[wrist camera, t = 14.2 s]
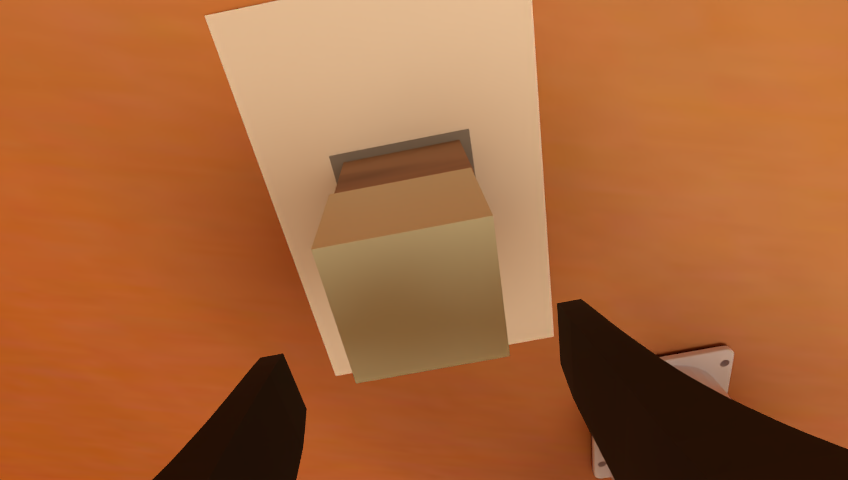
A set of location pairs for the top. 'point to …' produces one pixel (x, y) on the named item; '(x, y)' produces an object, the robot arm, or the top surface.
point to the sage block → (413, 275)
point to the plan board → (395, 119)
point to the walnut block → (402, 166)
